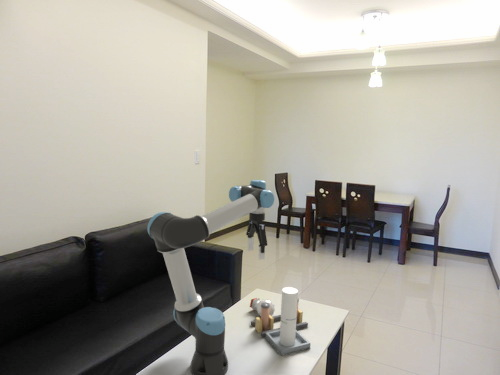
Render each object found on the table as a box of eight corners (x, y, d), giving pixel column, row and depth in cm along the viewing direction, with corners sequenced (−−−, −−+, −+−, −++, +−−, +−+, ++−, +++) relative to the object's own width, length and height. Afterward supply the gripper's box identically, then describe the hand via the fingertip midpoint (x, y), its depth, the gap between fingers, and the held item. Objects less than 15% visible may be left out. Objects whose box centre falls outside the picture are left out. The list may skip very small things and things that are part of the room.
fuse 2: (292, 325, 176) (293, 301, 174) (287, 321, 180) (289, 297, 178) (299, 323, 178) (300, 299, 176) (294, 320, 182) (295, 296, 180)
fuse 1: (262, 332, 169) (263, 307, 167) (258, 328, 173) (259, 303, 171) (270, 330, 171) (271, 305, 169) (266, 326, 174) (267, 301, 173)
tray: (281, 355, 151) (281, 350, 150) (265, 337, 164) (265, 332, 164) (310, 348, 157) (310, 343, 157) (292, 331, 170) (292, 326, 170)
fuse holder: (262, 337, 164) (262, 325, 163) (250, 324, 175) (251, 313, 174) (307, 327, 175) (308, 315, 174) (294, 315, 186) (294, 304, 186)
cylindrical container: (294, 347, 156) (297, 294, 153) (278, 344, 158) (281, 292, 154) (295, 338, 163) (298, 288, 160) (280, 336, 165) (283, 286, 161)
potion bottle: (270, 324, 179) (252, 315, 191) (281, 309, 184) (263, 301, 196) (261, 312, 176) (244, 304, 188) (273, 298, 180) (255, 290, 192)
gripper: (275, 217, 157) (273, 262, 160) (254, 206, 180) (252, 246, 182) (260, 218, 154) (259, 263, 157) (240, 207, 177) (239, 247, 180)
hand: (255, 254), depth 170 cm, fingers open, 13 cm apart
